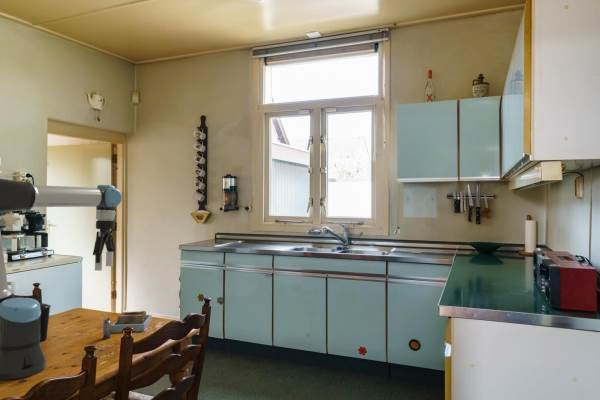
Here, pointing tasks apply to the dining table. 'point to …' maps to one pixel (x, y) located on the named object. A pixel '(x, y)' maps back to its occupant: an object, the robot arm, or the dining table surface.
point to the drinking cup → (43, 319)
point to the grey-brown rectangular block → (132, 318)
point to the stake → (107, 328)
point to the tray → (132, 325)
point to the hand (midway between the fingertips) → (104, 268)
